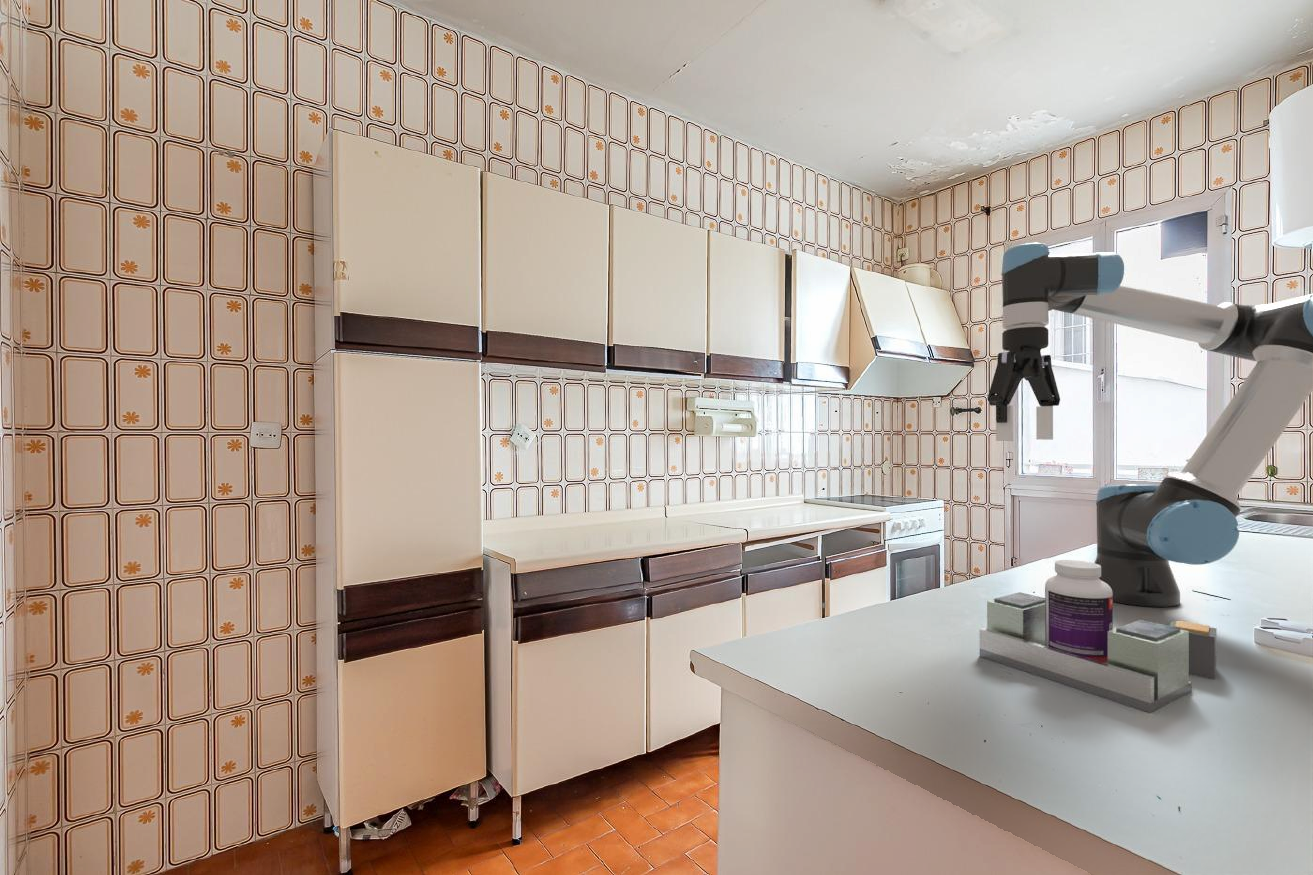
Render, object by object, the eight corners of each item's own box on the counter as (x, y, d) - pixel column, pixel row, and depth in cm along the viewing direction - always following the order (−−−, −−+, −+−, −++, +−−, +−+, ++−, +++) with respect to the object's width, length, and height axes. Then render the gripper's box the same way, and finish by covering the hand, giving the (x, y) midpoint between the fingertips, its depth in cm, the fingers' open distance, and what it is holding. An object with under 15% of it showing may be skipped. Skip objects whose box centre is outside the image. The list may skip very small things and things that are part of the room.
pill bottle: (1125, 676, 83) (1125, 571, 83) (1059, 672, 85) (1059, 569, 85) (1095, 654, 91) (1095, 558, 91) (1036, 651, 93) (1036, 557, 93)
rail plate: (1023, 641, 100) (1023, 589, 100) (1191, 690, 81) (1191, 626, 81) (979, 656, 94) (979, 600, 94) (1150, 712, 75) (1150, 643, 75)
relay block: (1171, 660, 92) (1171, 618, 92) (1216, 669, 88) (1216, 625, 88) (1167, 670, 88) (1168, 626, 88) (1214, 680, 85) (1214, 634, 85)
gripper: (1040, 335, 125) (1040, 438, 126) (966, 326, 113) (966, 441, 113) (1080, 330, 119) (1080, 439, 119) (1006, 320, 106) (1006, 441, 107)
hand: (1025, 440), depth 116 cm, fingers open, 13 cm apart
